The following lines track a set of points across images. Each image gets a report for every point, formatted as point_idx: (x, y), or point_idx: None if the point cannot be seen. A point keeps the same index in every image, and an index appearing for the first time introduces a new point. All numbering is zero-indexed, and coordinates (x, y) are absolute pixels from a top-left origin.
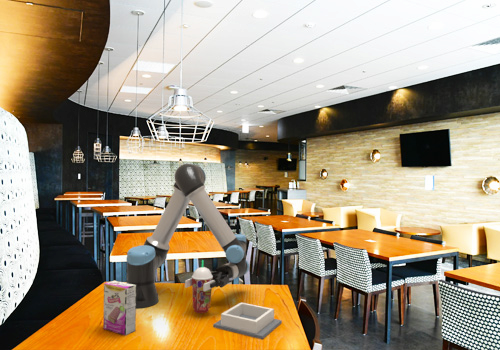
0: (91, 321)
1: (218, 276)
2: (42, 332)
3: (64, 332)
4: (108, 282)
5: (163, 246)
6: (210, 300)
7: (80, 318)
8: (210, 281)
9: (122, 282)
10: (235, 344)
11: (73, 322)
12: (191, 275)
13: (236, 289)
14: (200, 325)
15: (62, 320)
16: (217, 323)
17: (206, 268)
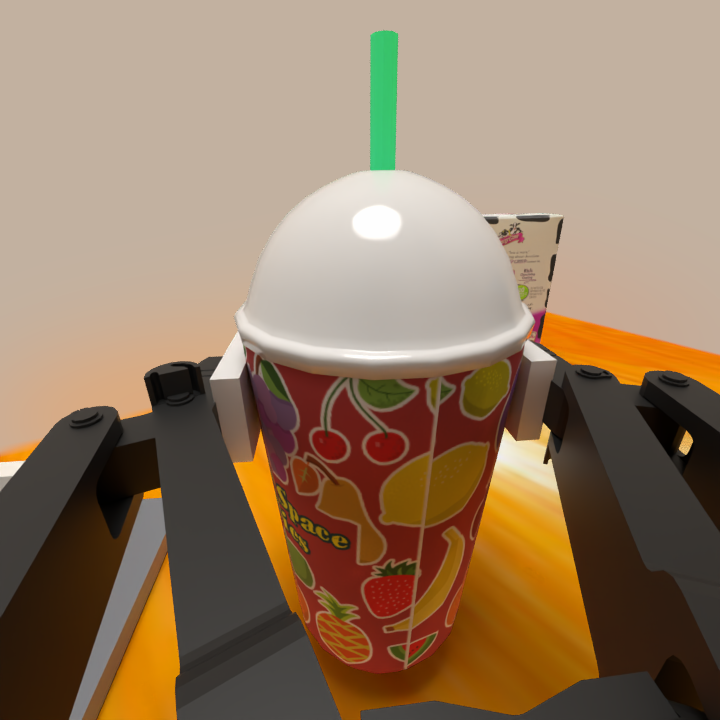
0: (602, 360)
1: (265, 613)
2: (573, 320)
3: (548, 330)
4: (541, 213)
5: None
6: (294, 572)
7: (648, 358)
8: (242, 346)
9: (515, 215)
10: (32, 447)
11: (616, 346)
12: (671, 372)
13: None
14: (266, 490)
15: (648, 343)
16: (158, 515)
17: (324, 188)
